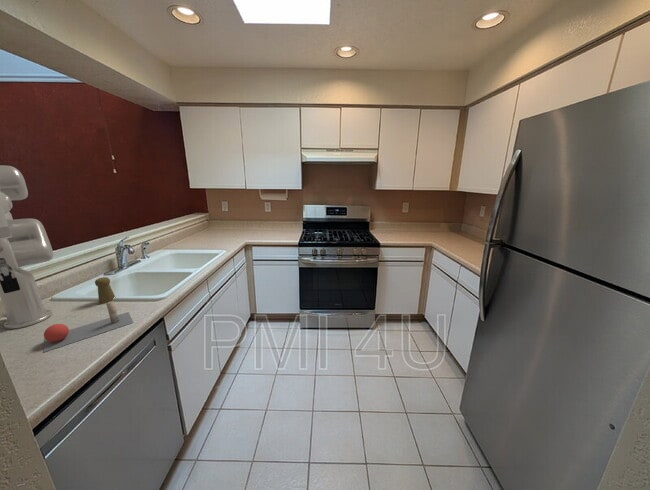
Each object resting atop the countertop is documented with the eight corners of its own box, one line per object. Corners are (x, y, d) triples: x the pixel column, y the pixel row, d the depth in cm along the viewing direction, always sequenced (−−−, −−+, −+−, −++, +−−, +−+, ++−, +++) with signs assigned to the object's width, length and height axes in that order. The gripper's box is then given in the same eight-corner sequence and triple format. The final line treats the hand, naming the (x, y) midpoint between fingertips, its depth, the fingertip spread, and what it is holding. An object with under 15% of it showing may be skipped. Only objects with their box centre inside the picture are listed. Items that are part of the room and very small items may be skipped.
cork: (119, 297, 120) (113, 275, 117) (109, 303, 114) (103, 280, 111) (106, 297, 120) (100, 275, 117) (95, 303, 114) (88, 281, 111)
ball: (41, 345, 86) (35, 330, 84) (59, 335, 92) (54, 320, 90) (59, 345, 86) (53, 330, 84) (75, 334, 92) (71, 320, 90)
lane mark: (43, 352, 83) (43, 352, 83) (45, 337, 90) (45, 337, 90) (133, 322, 99) (133, 322, 99) (128, 312, 107) (128, 311, 107)
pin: (109, 324, 98) (104, 304, 96) (114, 320, 101) (109, 301, 98) (116, 324, 98) (110, 304, 96) (120, 320, 101) (115, 301, 98)
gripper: (13, 235, 73) (32, 289, 77) (8, 229, 83) (25, 278, 87) (-31, 240, 67) (-7, 299, 72) (-31, 233, 77) (-10, 286, 82)
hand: (11, 287), depth 79 cm, fingers open, 9 cm apart
